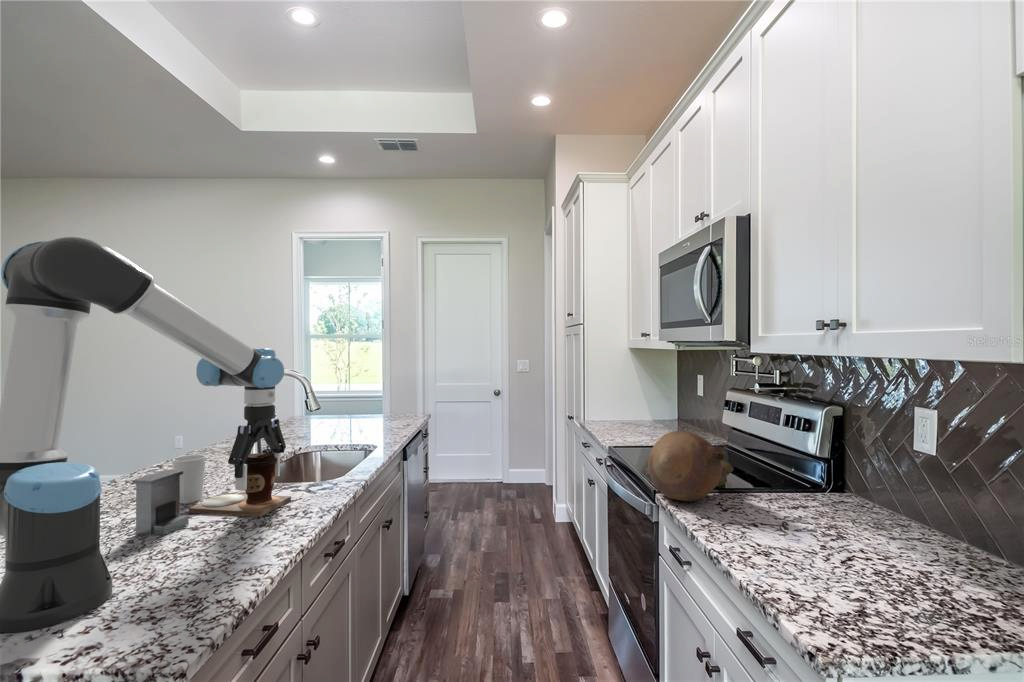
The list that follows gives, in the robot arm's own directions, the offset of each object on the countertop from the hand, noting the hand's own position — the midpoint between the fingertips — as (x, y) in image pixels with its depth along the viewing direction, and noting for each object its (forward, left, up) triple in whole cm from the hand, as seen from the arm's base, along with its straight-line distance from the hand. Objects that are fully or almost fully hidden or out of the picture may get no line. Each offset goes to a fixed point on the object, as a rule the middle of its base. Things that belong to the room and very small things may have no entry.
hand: (258, 482), depth 130 cm
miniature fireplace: (-17, +13, -7) cm, 23 cm away
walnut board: (0, +5, -7) cm, 9 cm away
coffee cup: (0, 0, -5) cm, 6 cm away
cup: (+3, +24, -7) cm, 26 cm away
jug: (+28, -120, -7) cm, 123 cm away
